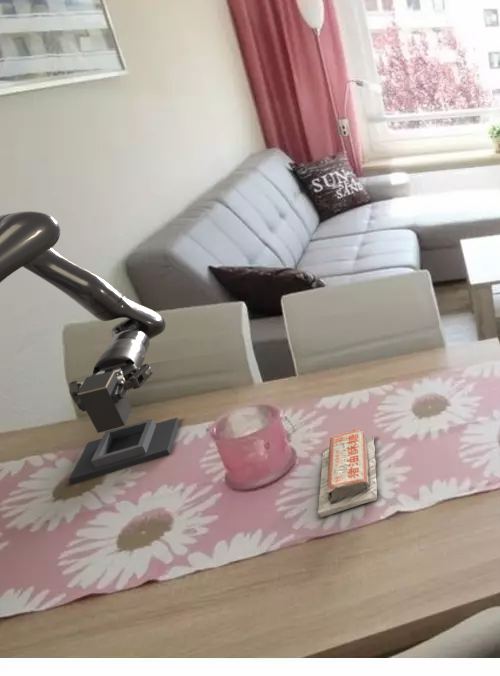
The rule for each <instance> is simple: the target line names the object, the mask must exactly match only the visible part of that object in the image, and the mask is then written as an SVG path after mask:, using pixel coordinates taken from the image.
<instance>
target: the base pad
mask: <svg viewBox="0 0 500 676" xmlns="http://www.w3.org/2000/svg"><path fill="white" fill-rule="evenodd" d="M179 425H180V419H179V417H173V418H170V419H167V420H163V421H159V422H155V420H154V418H150V419H145V420H143V421H142V420H141V421H139V422H136V423H135V422H134V423H131V424H127V425H125V426H121V427H118V428H114V429H111V430H107V431H104V433H103V436H102V437H101V438H99V439H95V440H92V441H89V442H87V444H86V446H85V448H84V449H83V452H82V453H81V456H80V457H79V459H78V461H77V463H76V465H75V466H74V469H73V471H72V473H71V475H70V477H69V478H68V479H69V481H70V483H71V485H74V484H78V483H79V482H84V481H87V480H90V479H94V478H97V477H100V476H104V475H107V474H110V473H114V472H117V471H120V470H124V469H127V468H130V467H133V466H136V465H140V464H143V463H146V462H150V461H153V460H156V459H159V458H163V457H167V456H170V454H171V452H172V449H173V445H174V441H175V439H176V438H175V437H176V435H177V432H178V429H179Z"/></svg>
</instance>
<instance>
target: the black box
mask: <svg viewBox="0 0 500 676" xmlns="http://www.w3.org/2000/svg"><path fill="white" fill-rule="evenodd" d="M117 381H118V379H117V377H116V375H115V373H114V371H111V372H107V373H102V374H98V375H94V376H91V375H90V376H87V377H86V378H85V379H84V381H82V382H83V384H82V386H81V387H80V389H79V391H78V392H77V394H78V396H79V398H80V400H81V402H82V403H83V405H84V407H85V409H86V411H85V412H86V413H87V415H88V417H89V419H90V421H91V423H92V425H93V426H94V428H95V430H96V433H97V434H100V433H103V432H106V431H109V430H113V429H117V428H120V427H124V426H126V424H127V423H128V419H129V417H130V415H131V413H132V410H133V409H132V406H131V404H130V402H129V400H128V397H127V396H126V395H125V396H124V398H123V399H121V400H120V402H117V403H114V401H113V399H112V397H111V393H112V391H113V389H114V387H115V385H118V383H117Z"/></svg>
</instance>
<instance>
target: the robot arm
mask: <svg viewBox="0 0 500 676" xmlns="http://www.w3.org/2000/svg"><path fill="white" fill-rule="evenodd" d="M60 236H61V227H60V224H59V223H58V221H57V220H56V219H55V218H54V217H53V216H51V215H49V214H47V213H45V212H39V211H31V210H30V211H29V210H26V211H24V210H23V211H16V212H11V213H5V214H1V215H0V284H1V283H2V282H4V281H5V279H7V278H8V277H10V276H11V275H12V274H13V273H15V272H16V271H18V270H19V269H21V268H24V269H26V270H27V271H29V272H31V273H33V274H34V275H36V276H38V277H39V278H41V279H42V280H44V281H45V282H47V283H49V284H50V285H52V286H54V287H55V288H56V289H58V290H59V291H61V292H62V293H64V294H65V295H67V296H68V297H69V298H70V299H72V300H73V301H74V302H75V303H77V304H78V305H80V307H82V308H83V309H85V310H86V311H87V312H88V313H90V314H91V315H92V316H93V317H95V318H96V319H98V320H100V321H102V322H110V321H113V320H117V319H123V318H125V319H124V320H122V321H120V322H118V323H115V325H113V327H111V329H110V330H109V336H110V342H109V344H108V346H107V347H106V348H105V349H104V350H103V352H102V353H101V355H100V356H99V358H98V360H97V361H96V363H95V364H94V367H93V371H92V374H91V375H90V376H94V375H98V374H102V373H107V372H111V371H114V373H115V375H116V377H117V379H118V381H117V383H118V385H115V387H114V389H113V391H112V393H111V397H112V399H113V401H114V403H117V402H120V400H121V399H123V398H124V396H126V394H127V393H128V392H130V390H131V389H133V390H136V389H139V388H140V387H142V385H143V384H144V383H146V381H147V380H148V379H149V378H150V377H151V376H152V375H153V374H154V373H153V370H152V368H151V366H150V364H149V363H144V361H145V359H146V354H147V352H148V350H149V347H150V344H151V343H150V340H152V339H153V338H155V337H157V336H159V335H161V334H162V333H163V332H164V331H165V330H166V321H165V318H164V317H163V316H162V315H161V313H160V314H159V313H158V312H157V311H155V310H154V309H152V308H149V307H147V306H145V305H142V304H140V303H138V302H136V301H134V300H132V299H130V298H128V297H127V296H125V295H124V294H123V293H122V292H120V291H119V289H117V288H116V287H114V285H112V284H111V283H109V282H108V281H107V280H105V279H104V278H102V277H101V276H99V275H97V274H96V273H94V272H92V271H89V269H86V268H83V267H82V266H81V265H78V264H76V263H74V262H72V261H71V260H69V259H67V258H66V257H64V256H63V255H61V254H60V253H59V252H57V250H55V249H54V248H53V247H55V245H56V244H57V243H58V241H59V240H60V238H61V237H60ZM143 363H144V364H143ZM83 382H84V381H81V382H78V381H77V380H74V381H70V382H69V383H68V386H69V387H68V388H69V395H70V397H71V398H72V400H73V402H74V404H76V406H77V408H78V410H79V411H81V412H87V411H86V409H85V407H84V405H83V403H82V402H81V400H80V398H79V396H78V394H77V392H78V391H79V389H80V387H81V386H82V384H83Z"/></svg>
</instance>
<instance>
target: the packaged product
mask: <svg viewBox="0 0 500 676" xmlns="http://www.w3.org/2000/svg"><path fill="white" fill-rule="evenodd" d="M329 438H330V439H329V446H328V447H326V448H324V449H323V450H322V457H321V472H320V473H321V474H320V482H319V483H320V484H319V496H318V507H317V508H318V510H317V514H318V516H319V517H320V518H325V517H328V516H331V515H334V514H337V513H339V512H340V513H341V512H342V511H345V510H348V509H352V508H354V507H357V506H361V505H364V504H367V503H371V502H375V501H378V490H377V489H378V488H377V487H378V486H377V474H376V473H377V472H376V466H377V465H376V463H377V460H376V455H375V454H376V448H375V447H376V446H375V437H374V436H369V437H365V433H364V431H363V430H361V429H360V430H357V429H353V430H350V431H347V432H342V433H339V434H336V435H332V436H330V437H329Z"/></svg>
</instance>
